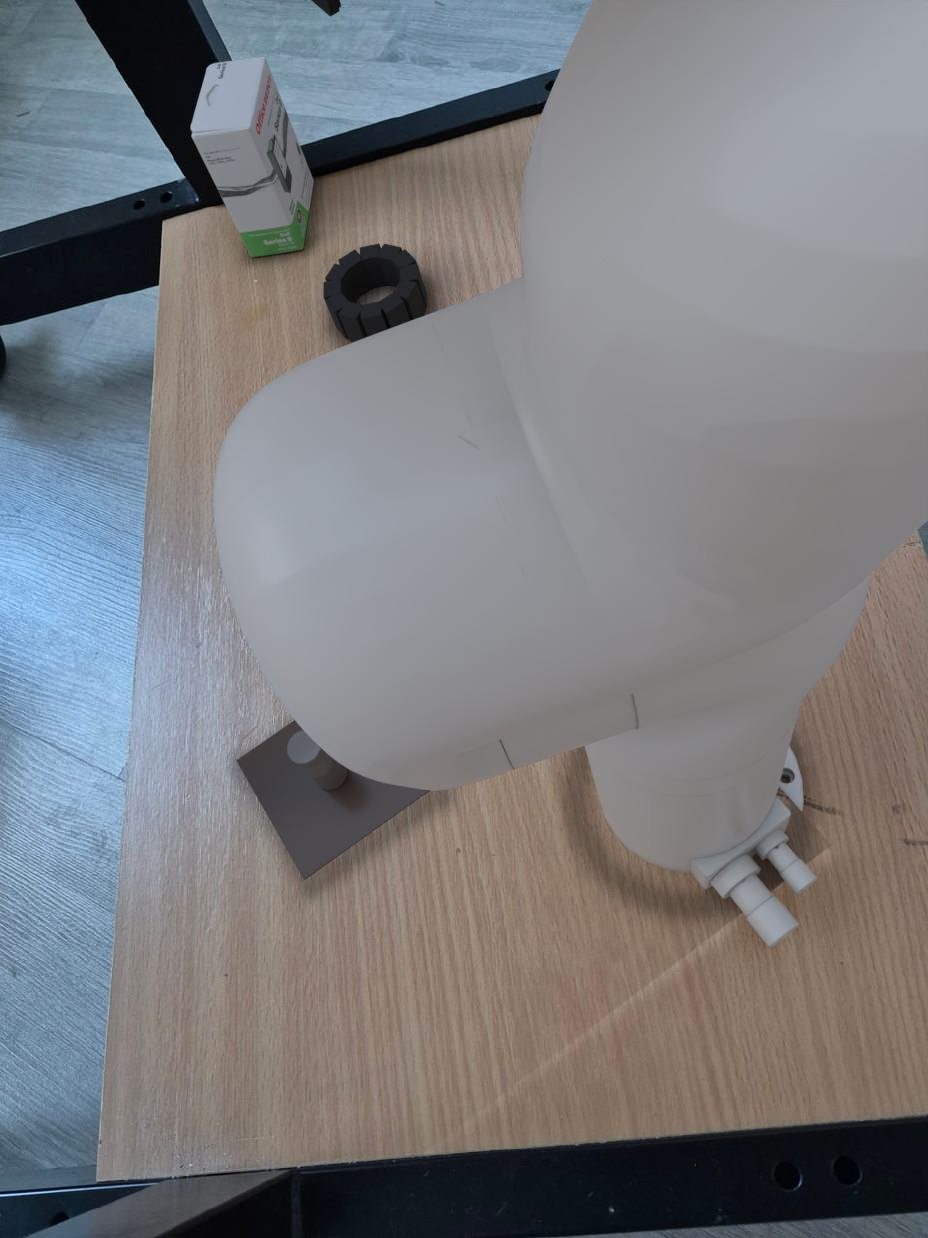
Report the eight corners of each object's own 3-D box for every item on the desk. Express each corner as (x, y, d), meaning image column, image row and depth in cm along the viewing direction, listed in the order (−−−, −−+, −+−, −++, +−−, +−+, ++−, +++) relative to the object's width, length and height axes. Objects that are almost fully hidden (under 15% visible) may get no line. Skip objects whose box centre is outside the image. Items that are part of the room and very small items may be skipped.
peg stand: (438, 795, 60) (412, 760, 54) (312, 885, 59) (272, 860, 53) (363, 685, 64) (332, 642, 58) (245, 768, 63) (201, 732, 57)
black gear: (444, 309, 77) (436, 280, 74) (364, 361, 76) (353, 333, 74) (395, 258, 80) (385, 228, 78) (318, 307, 80) (306, 279, 77)
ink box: (305, 252, 83) (250, 127, 73) (248, 259, 84) (186, 137, 74) (316, 179, 87) (266, 50, 76) (262, 186, 88) (205, 60, 77)
